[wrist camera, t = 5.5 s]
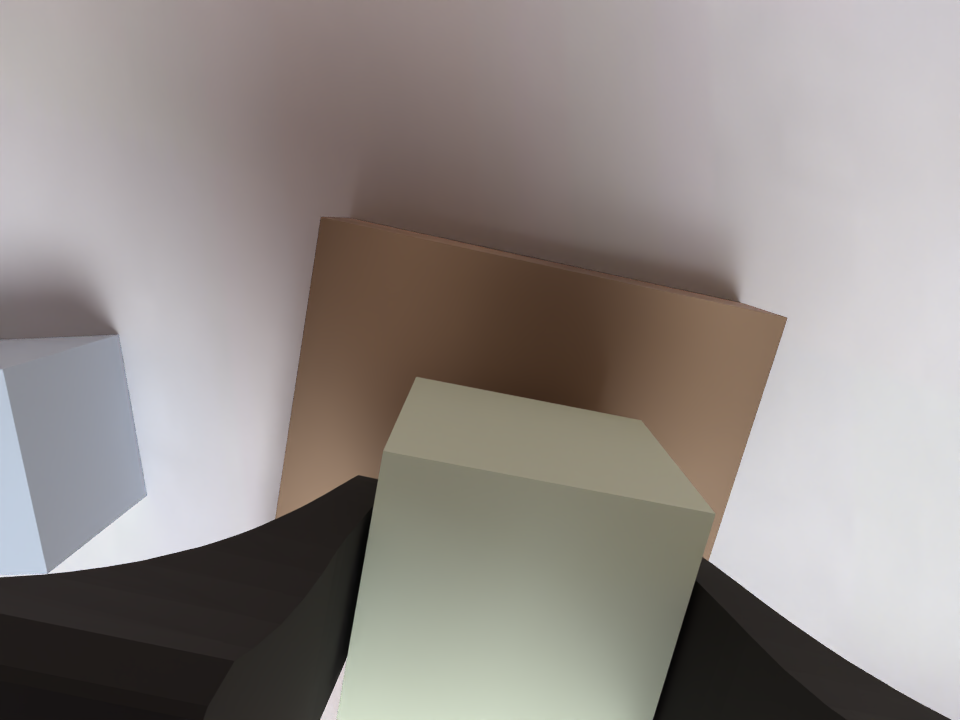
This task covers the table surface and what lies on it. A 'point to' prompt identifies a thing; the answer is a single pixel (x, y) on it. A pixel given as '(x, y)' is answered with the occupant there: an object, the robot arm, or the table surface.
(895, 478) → the table surface
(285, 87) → the table surface
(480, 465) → the sage block
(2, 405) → the blue block
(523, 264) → the walnut slab
